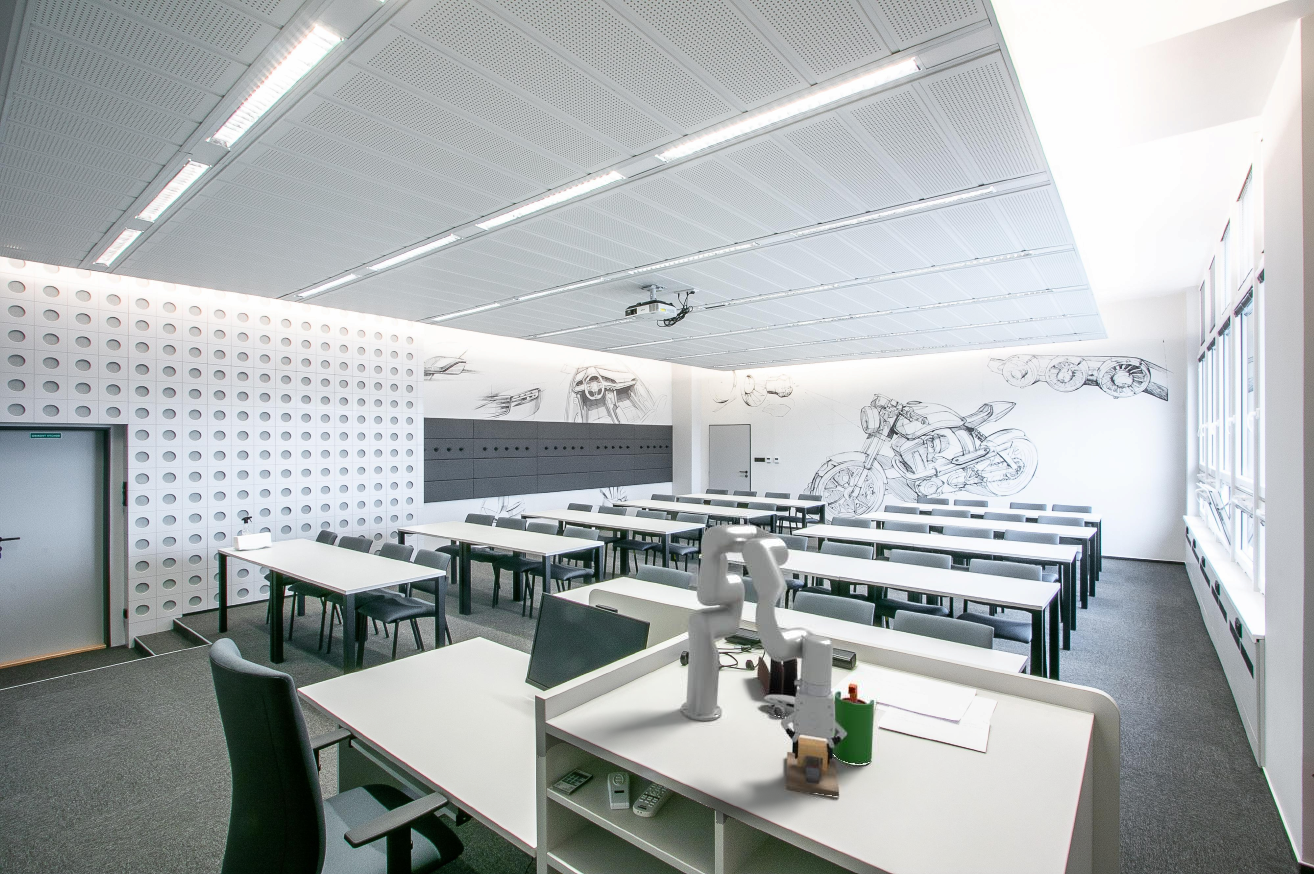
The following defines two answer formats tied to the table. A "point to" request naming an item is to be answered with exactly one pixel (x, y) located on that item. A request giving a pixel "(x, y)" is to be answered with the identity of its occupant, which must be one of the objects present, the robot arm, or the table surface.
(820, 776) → the rail base
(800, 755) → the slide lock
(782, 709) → the car model
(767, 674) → the letter holder
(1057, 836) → the table surface
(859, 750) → the motor
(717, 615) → the robot arm
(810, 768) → the rail
